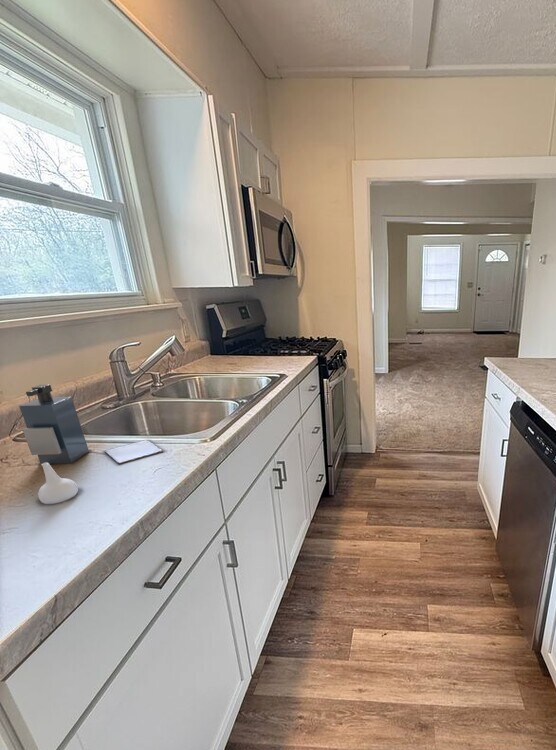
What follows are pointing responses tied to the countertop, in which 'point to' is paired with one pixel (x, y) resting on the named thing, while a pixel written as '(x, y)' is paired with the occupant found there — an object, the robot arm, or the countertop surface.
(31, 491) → the countertop surface
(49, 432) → the dispenser paddle
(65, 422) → the soap dispenser
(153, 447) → the flat dark-edged slab
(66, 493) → the garlic bulb
